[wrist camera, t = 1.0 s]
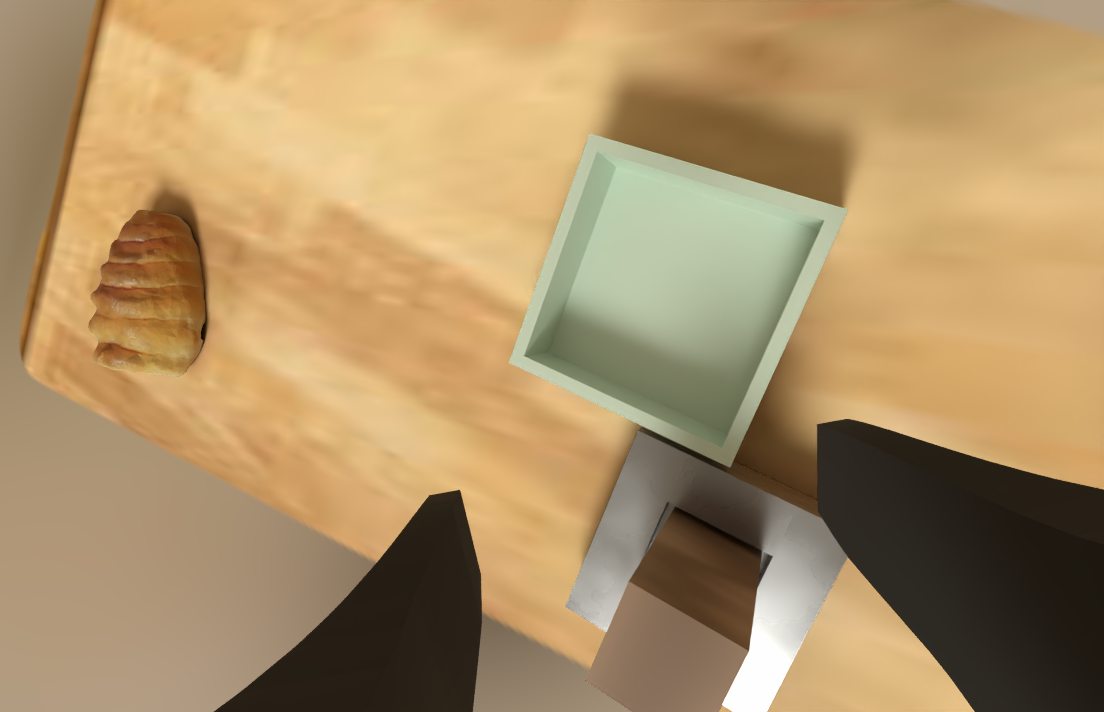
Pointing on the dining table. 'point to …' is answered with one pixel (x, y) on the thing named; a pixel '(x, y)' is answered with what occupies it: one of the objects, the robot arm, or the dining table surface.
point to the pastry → (150, 298)
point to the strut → (681, 621)
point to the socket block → (738, 509)
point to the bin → (673, 292)
